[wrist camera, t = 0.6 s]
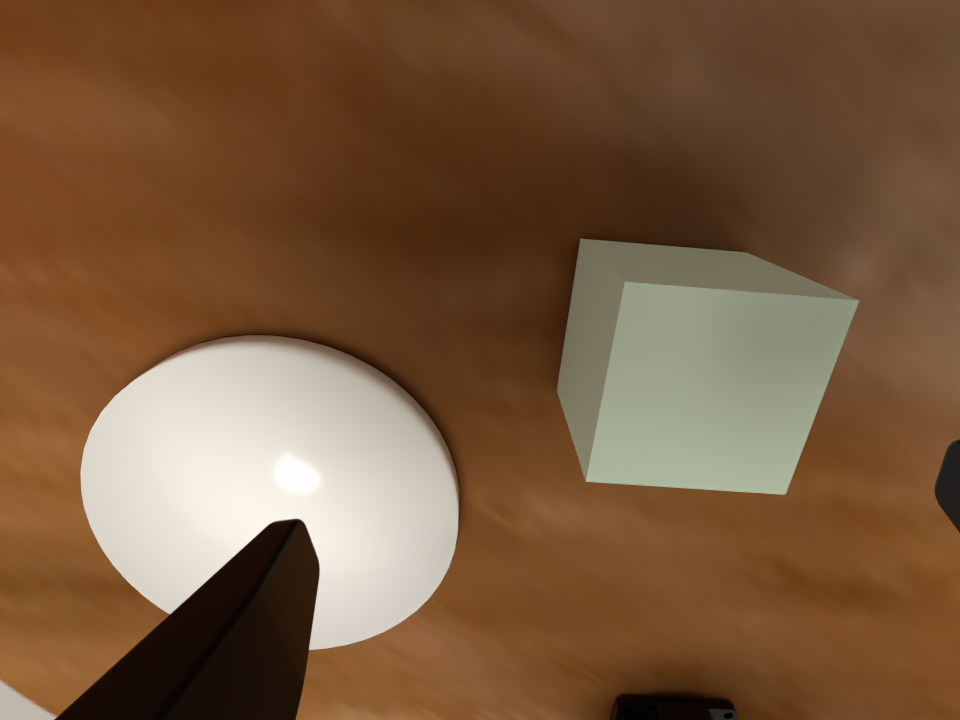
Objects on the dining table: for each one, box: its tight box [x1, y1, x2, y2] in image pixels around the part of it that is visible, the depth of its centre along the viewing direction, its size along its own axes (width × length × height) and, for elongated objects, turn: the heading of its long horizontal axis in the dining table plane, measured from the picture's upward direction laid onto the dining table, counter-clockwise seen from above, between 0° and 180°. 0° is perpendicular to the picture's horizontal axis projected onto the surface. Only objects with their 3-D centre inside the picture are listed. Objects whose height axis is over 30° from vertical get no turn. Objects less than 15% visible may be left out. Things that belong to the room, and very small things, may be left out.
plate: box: [81, 335, 459, 650], centre depth 22 cm, size 15×15×2 cm
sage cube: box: [557, 239, 859, 495], centre depth 17 cm, size 6×6×6 cm
